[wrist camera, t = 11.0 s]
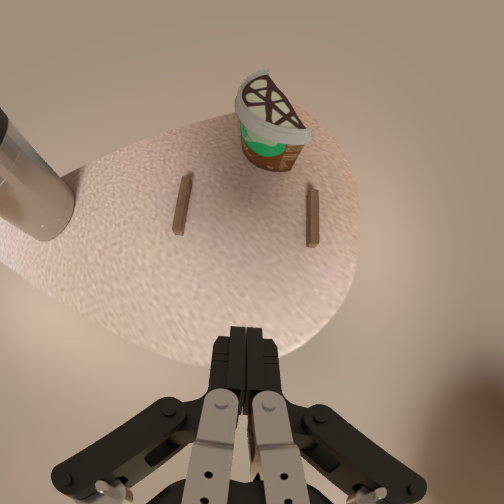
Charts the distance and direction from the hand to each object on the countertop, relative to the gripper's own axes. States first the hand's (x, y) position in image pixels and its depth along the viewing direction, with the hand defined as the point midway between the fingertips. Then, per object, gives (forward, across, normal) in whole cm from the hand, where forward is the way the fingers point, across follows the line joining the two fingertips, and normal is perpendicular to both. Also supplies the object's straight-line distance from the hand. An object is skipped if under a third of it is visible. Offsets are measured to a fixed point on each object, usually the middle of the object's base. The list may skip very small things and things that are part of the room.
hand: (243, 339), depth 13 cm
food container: (+30, -1, -5) cm, 30 cm away
